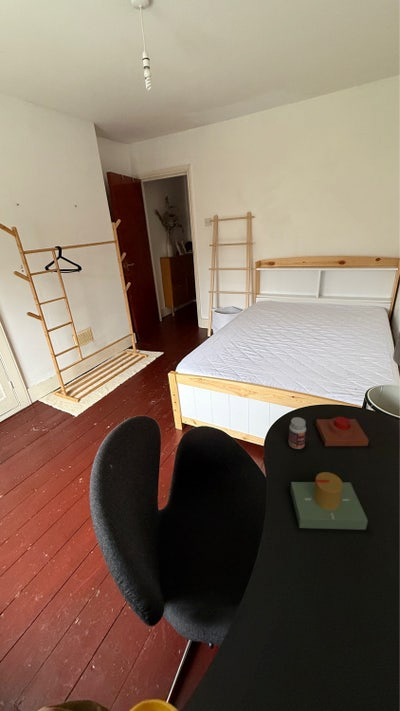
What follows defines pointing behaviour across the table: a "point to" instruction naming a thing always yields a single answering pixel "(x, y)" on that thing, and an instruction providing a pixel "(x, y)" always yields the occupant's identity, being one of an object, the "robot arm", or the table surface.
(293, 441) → the pill bottle
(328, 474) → the dial
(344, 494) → the control panel
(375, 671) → the table surface
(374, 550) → the table surface
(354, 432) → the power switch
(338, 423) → the power button
